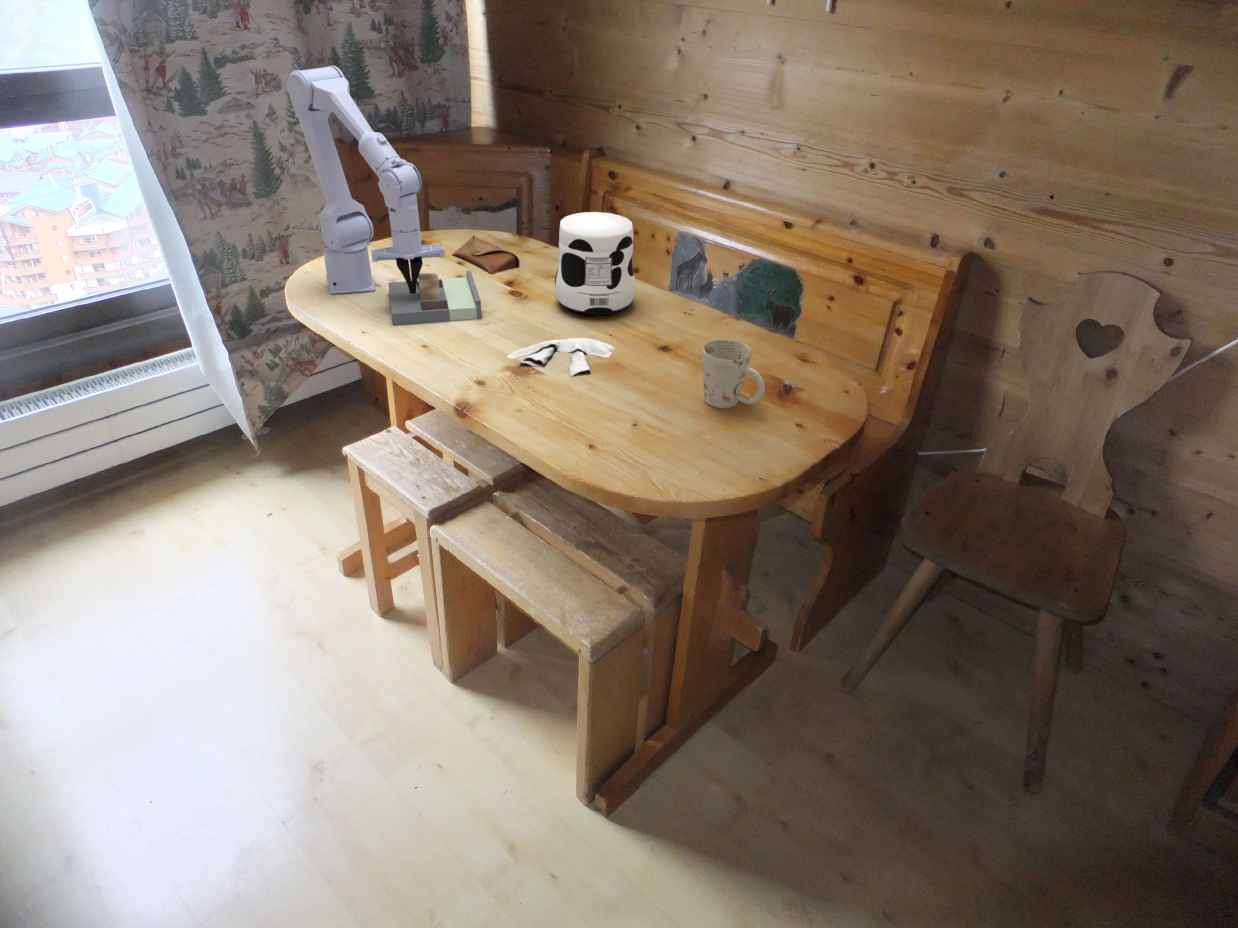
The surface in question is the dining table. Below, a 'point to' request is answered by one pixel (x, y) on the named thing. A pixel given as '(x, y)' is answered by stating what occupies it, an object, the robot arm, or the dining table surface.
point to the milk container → (595, 263)
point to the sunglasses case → (487, 256)
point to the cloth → (572, 344)
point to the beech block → (429, 285)
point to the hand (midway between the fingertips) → (412, 292)
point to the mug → (727, 373)
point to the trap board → (436, 302)
